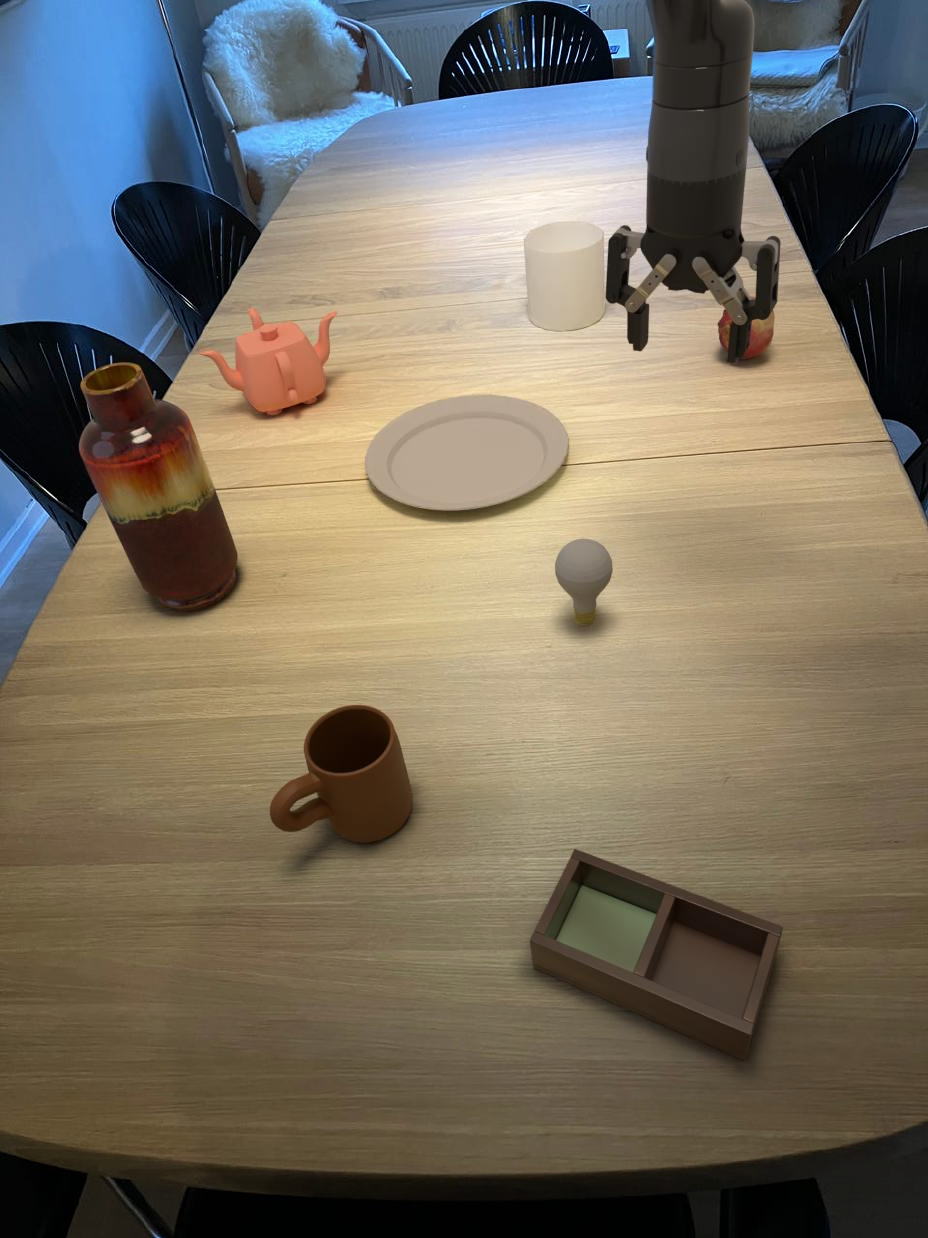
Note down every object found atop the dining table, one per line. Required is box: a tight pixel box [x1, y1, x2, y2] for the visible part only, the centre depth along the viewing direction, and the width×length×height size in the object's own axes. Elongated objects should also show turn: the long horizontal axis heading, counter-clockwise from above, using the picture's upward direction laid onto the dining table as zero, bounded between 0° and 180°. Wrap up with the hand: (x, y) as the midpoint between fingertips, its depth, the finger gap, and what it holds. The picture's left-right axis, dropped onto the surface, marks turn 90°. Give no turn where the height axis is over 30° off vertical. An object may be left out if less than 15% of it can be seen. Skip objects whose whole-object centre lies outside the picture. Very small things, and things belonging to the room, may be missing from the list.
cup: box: [523, 220, 606, 332], centre depth 139 cm, size 12×12×12 cm
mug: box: [269, 704, 413, 843], centre depth 75 cm, size 12×8×9 cm, turn 134°
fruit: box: [717, 296, 776, 360], centre depth 125 cm, size 8×8×8 cm
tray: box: [529, 848, 784, 1061], centre depth 65 cm, size 8×15×4 cm, turn 62°
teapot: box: [198, 307, 338, 416], centre depth 130 cm, size 14×14×11 cm
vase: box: [78, 362, 238, 613], centre depth 95 cm, size 11×11×26 cm
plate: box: [364, 394, 570, 511], centre depth 116 cm, size 26×26×2 cm
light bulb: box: [554, 538, 614, 626], centre depth 89 cm, size 6×6×10 cm
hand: (686, 353), depth 82 cm, fingers open, 8 cm apart
